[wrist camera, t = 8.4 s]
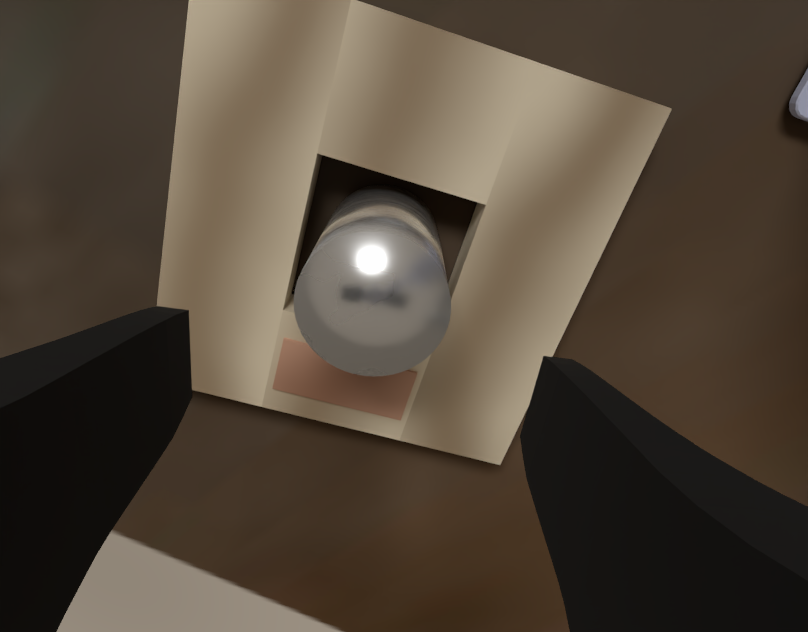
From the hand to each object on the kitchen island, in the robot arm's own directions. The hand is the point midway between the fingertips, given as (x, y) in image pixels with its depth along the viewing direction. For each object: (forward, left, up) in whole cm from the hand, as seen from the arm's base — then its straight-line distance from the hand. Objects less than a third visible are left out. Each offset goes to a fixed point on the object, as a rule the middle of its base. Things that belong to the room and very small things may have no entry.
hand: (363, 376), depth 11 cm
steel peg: (0, 0, -9) cm, 9 cm away
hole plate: (0, 0, -9) cm, 9 cm away
